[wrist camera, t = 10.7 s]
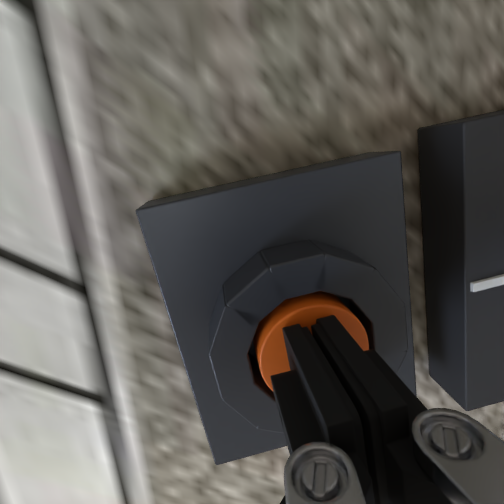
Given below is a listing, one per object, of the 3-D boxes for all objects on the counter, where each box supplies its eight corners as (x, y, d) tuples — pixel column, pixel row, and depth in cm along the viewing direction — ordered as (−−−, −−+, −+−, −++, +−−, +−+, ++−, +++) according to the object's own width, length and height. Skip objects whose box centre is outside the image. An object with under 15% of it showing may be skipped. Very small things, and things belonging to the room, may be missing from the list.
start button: (242, 297, 11) (248, 321, 10) (341, 273, 12) (363, 292, 10) (262, 381, 12) (270, 417, 11) (352, 358, 13) (374, 389, 11)
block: (147, 201, 12) (119, 220, 9) (370, 151, 13) (437, 148, 9) (214, 425, 16) (216, 511, 12) (391, 377, 16) (447, 445, 12)
